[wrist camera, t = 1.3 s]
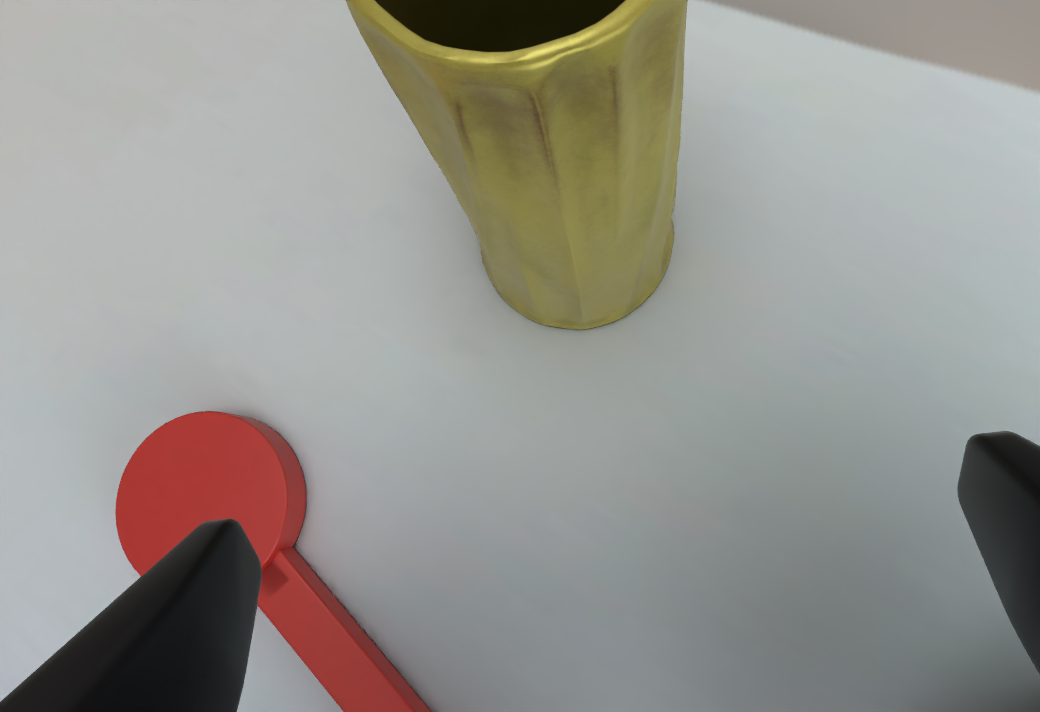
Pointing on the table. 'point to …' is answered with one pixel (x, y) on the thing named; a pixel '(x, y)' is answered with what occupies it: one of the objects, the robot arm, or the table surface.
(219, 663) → the robot arm
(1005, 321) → the table surface
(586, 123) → the vase
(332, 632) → the spoon
